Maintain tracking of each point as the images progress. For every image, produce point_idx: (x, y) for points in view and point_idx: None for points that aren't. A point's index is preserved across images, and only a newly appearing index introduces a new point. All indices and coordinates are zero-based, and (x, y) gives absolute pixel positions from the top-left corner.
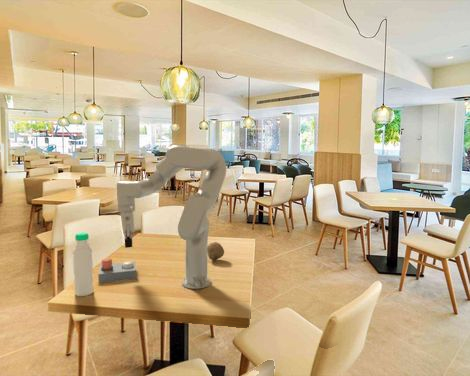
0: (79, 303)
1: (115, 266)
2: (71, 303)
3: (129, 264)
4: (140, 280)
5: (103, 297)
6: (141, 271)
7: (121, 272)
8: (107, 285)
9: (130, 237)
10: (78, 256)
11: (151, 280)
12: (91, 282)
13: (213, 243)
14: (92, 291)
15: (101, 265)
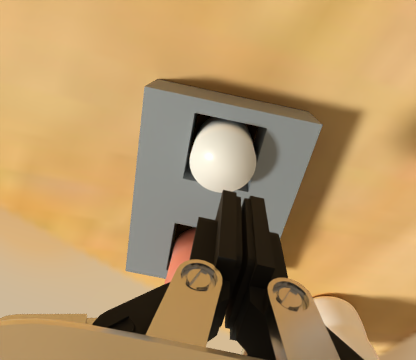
0: (398, 337)
1: (186, 213)
2: (379, 351)
3: (254, 158)
4: (346, 96)
5: (412, 276)
6: (210, 50)
7: (291, 203)
8: (303, 243)
9: (310, 319)
10: None
11: (392, 33)
12: (368, 342)
13: None
14: (349, 304)
15: (139, 265)
